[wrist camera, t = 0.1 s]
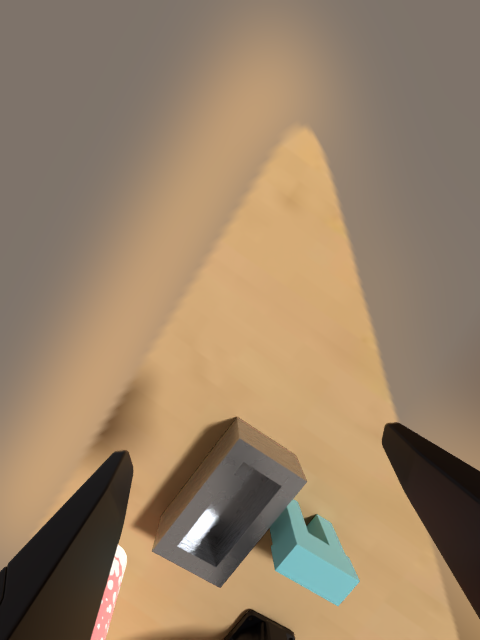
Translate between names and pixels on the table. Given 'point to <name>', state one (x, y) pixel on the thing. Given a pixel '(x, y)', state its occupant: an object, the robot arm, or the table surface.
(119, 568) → the beverage cup
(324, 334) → the table surface
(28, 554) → the robot arm
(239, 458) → the grey slotted tray
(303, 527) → the light blue rectangular block
